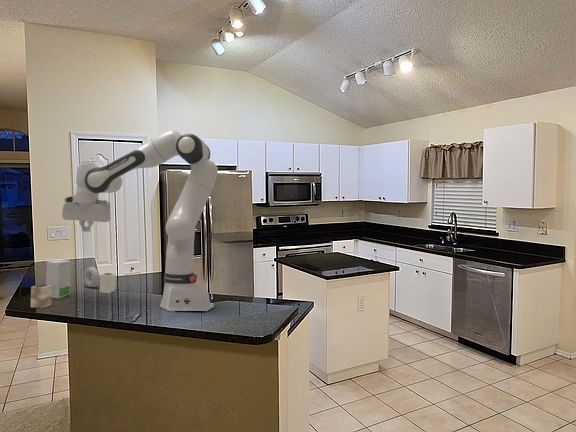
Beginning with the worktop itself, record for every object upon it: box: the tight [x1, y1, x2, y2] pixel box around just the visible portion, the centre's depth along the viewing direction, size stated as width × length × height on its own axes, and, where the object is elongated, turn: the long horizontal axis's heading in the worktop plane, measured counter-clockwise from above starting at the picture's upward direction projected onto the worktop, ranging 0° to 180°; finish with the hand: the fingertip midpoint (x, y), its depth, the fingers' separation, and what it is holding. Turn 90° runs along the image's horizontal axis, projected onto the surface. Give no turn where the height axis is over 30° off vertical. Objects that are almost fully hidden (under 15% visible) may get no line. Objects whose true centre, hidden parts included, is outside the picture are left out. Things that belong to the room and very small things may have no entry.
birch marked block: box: [30, 284, 52, 309], centre depth 167 cm, size 5×5×8 cm
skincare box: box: [45, 259, 72, 300], centre depth 183 cm, size 8×7×16 cm
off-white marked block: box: [99, 272, 117, 294], centre depth 197 cm, size 5×5×8 cm
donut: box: [83, 266, 101, 288], centre depth 204 cm, size 10×4×10 cm, turn 59°
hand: (85, 231), depth 181 cm, fingers closed
